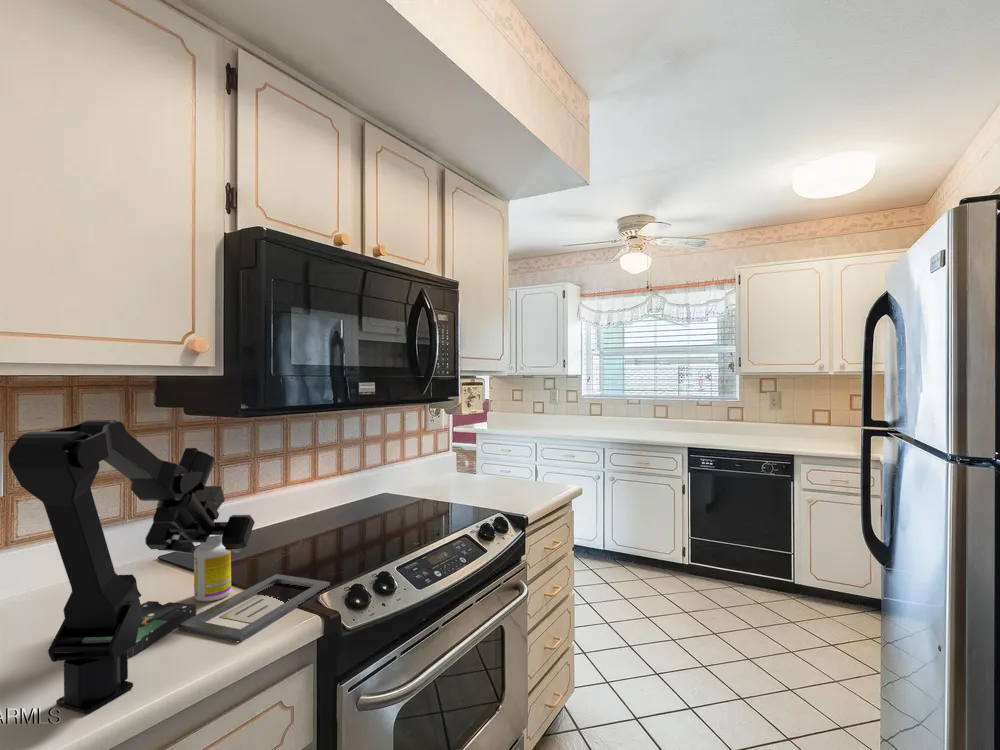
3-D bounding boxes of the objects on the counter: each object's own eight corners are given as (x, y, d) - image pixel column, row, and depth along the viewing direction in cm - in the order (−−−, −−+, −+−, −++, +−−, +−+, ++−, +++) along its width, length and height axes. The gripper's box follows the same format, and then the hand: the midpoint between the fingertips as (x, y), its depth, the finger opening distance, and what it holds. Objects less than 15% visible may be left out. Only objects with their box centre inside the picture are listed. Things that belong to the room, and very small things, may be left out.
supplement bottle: (238, 590, 110) (238, 529, 110) (213, 604, 103) (212, 539, 103) (212, 587, 112) (212, 527, 111) (186, 600, 105) (185, 536, 105)
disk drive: (147, 615, 100) (75, 656, 86) (147, 600, 100) (75, 639, 86) (197, 618, 99) (134, 660, 85) (197, 603, 99) (134, 642, 85)
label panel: (240, 642, 89) (240, 636, 89) (178, 629, 93) (178, 624, 93) (329, 586, 112) (329, 582, 112) (276, 578, 116) (276, 574, 116)
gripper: (249, 475, 104) (273, 515, 115) (153, 476, 103) (186, 516, 114) (230, 527, 96) (257, 565, 107) (126, 528, 95) (164, 566, 107)
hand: (216, 551), depth 109 cm, fingers open, 9 cm apart
